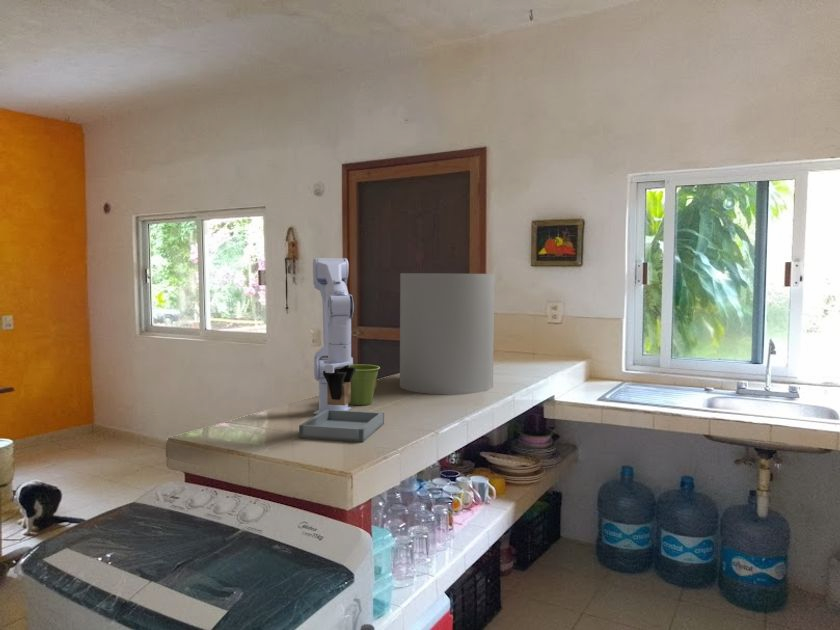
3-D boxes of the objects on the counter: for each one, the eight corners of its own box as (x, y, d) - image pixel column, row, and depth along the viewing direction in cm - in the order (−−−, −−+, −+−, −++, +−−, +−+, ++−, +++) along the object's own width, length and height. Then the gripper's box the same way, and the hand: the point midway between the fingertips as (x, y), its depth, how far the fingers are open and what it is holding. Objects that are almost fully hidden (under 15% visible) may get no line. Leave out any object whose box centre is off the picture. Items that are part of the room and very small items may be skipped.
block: (333, 400, 153) (333, 381, 152) (350, 401, 152) (350, 382, 151) (327, 404, 148) (327, 384, 148) (344, 405, 147) (344, 385, 147)
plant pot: (373, 408, 176) (374, 370, 175) (335, 406, 178) (335, 368, 177) (384, 400, 187) (384, 364, 187) (348, 398, 190) (348, 363, 189)
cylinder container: (472, 398, 192) (473, 273, 190) (382, 389, 206) (383, 273, 204) (504, 381, 223) (506, 274, 220) (424, 374, 237) (425, 273, 234)
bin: (326, 420, 161) (326, 409, 161) (384, 423, 157) (384, 412, 157) (299, 437, 143) (299, 425, 143) (362, 442, 140) (362, 429, 140)
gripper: (334, 340, 157) (335, 391, 158) (313, 346, 143) (313, 402, 144) (360, 340, 155) (360, 392, 156) (341, 347, 141) (341, 403, 142)
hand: (339, 397), depth 150 cm, fingers closed on block, 4 cm apart
